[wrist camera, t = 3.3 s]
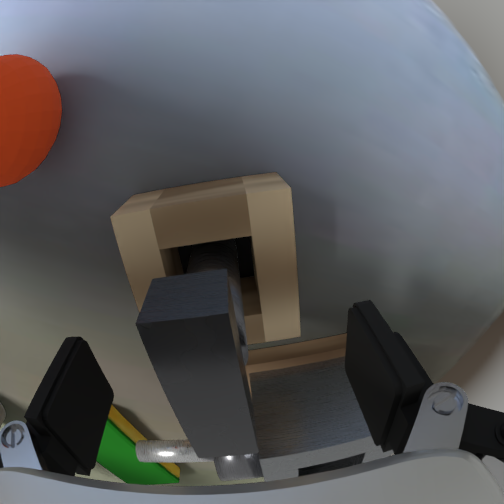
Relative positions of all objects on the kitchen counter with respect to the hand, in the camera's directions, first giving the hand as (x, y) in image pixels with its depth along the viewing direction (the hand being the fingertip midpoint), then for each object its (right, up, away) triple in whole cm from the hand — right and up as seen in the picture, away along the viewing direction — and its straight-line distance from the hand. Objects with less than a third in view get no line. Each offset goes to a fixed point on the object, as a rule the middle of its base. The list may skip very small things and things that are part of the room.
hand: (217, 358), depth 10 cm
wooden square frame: (-1, +4, +8) cm, 9 cm away
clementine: (-12, +11, +4) cm, 17 cm away
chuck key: (-1, +4, +8) cm, 9 cm away
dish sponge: (-12, -16, +17) cm, 26 cm away
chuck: (+2, -8, +12) cm, 15 cm away
